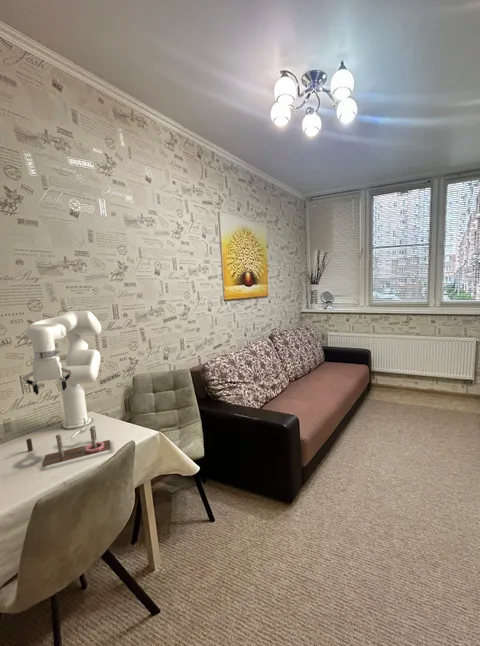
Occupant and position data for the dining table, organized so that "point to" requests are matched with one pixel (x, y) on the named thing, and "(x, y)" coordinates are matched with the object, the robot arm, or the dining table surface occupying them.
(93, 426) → the pink ring
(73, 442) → the dining table surface
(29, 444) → the brass ring
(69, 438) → the hook
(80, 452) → the peg rack
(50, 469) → the dining table surface
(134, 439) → the dining table surface
